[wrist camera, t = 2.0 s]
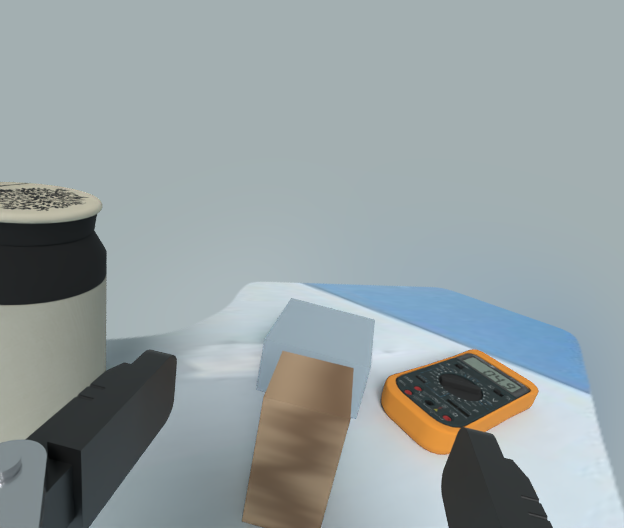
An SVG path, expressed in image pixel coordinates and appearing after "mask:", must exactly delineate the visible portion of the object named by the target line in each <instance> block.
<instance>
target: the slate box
mask: <svg viewBox="0 0 624 528" xmlns="http://www.w3.org/2000/svg"><path fill="white" fill-rule="evenodd" d="M374 324H375V320H374V319H370V318H366V317H362V316H358V315H354V314H350V313H347V312H343V311H339V310H335V309H331V308H327V307H324V306H320V305H316V304H312V303H308V302H304V301H300V300H297V299H293V298H291V300H290V301H289V303H288V304H287V306H286V307H285V309H284V310H283V312H282V313H281V315H280V316H279V318H278V319H277V321H276V322H275V324H274V325H273V327H272V328H271V330H270V331H269V333H268V334H267V336H266V337H265V340H264V346H263V352H262V358H261V364H260V370H259V376H258V382H257V388H256V389H257V390H260V391H263V392H266V390H267V387H268V385H269V383H270V380H271V378H272V375H273V373H274V370H275V368H276V366H277V363H278V361H279V358H280V356H281V354H282V351H286V352H290V353H294V354H298V355H302V356H306V357H311V358H315V359H319V360H323V361H327V362H331V363H335V364H339V365H343V366H347V367H351V368H354V372H353V387H352V403H351V418H354V419H356V417H357V414H358V410H359V407H360V403H361V400H362V396H363V392H364V389H365V385H366V382H367V378H368V375H369V371H370V367H371V356H372V345H373V334H374Z"/></svg>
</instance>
